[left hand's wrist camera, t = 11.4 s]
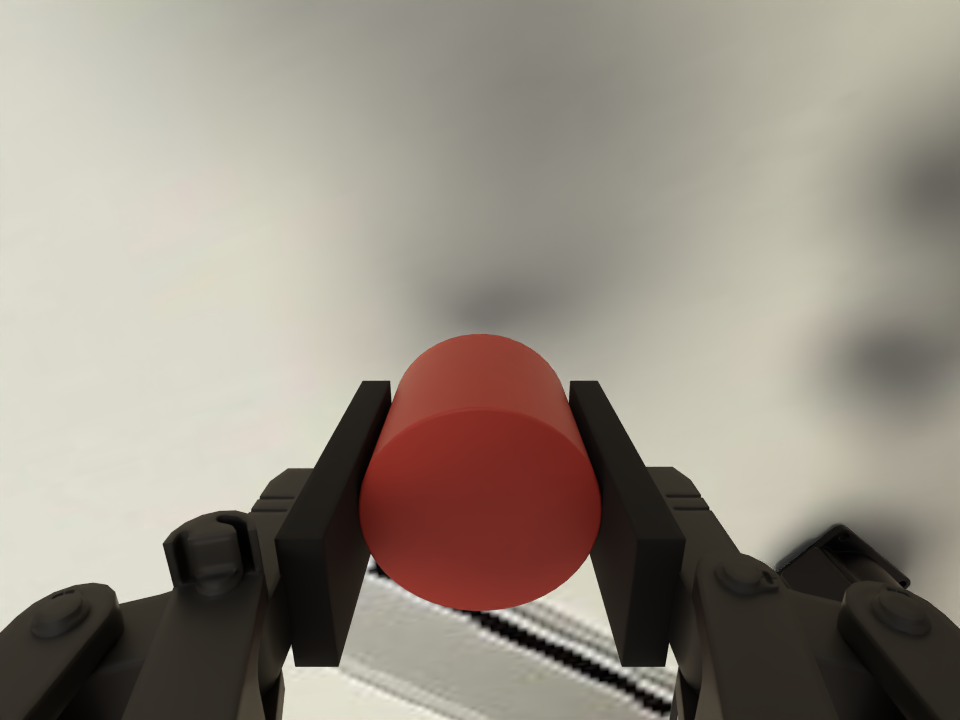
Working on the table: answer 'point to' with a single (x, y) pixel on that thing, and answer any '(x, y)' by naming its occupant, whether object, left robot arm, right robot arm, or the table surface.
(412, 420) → the canister
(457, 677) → the table surface
